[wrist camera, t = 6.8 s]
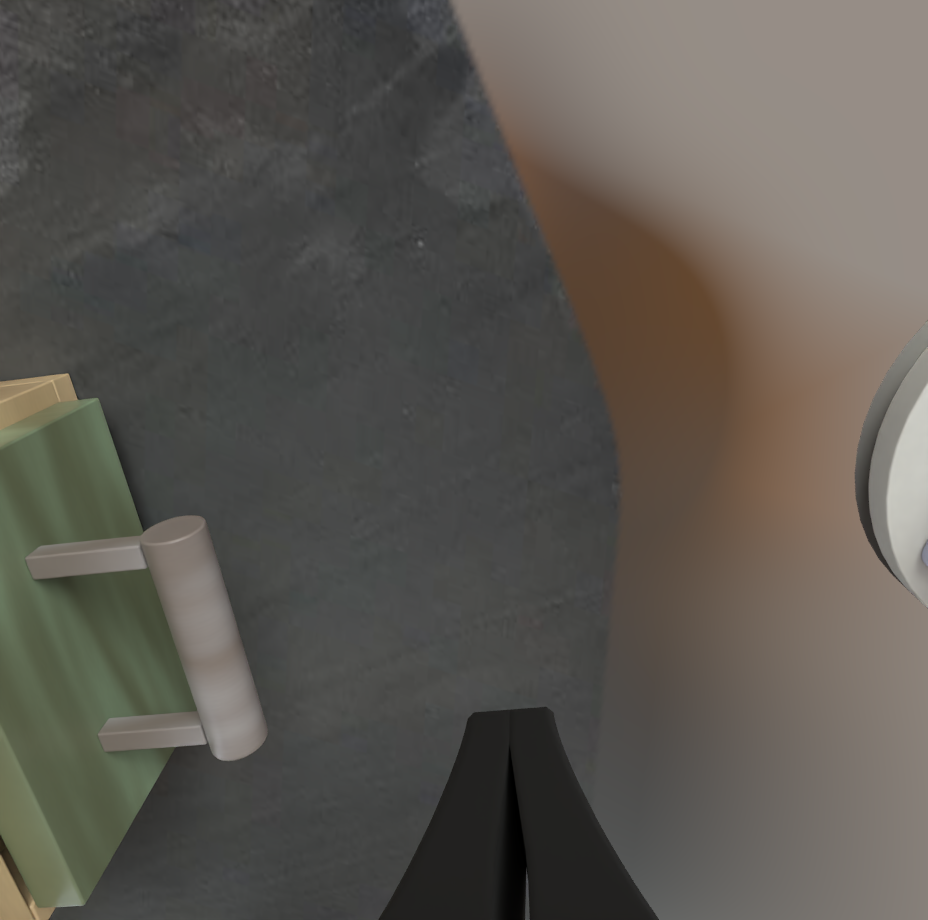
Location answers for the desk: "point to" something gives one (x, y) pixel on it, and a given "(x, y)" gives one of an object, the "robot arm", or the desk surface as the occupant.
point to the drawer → (101, 651)
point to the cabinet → (3, 403)
